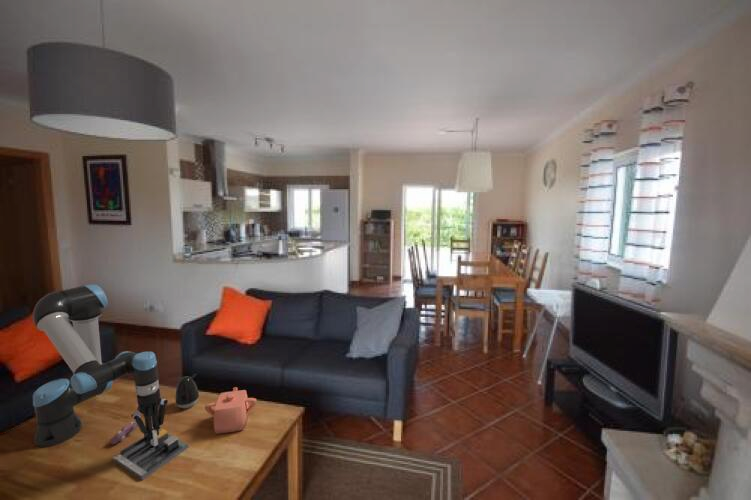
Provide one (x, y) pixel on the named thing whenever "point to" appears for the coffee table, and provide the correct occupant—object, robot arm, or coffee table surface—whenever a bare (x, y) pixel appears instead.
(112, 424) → the coffee table surface
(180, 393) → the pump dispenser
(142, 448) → the panel
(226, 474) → the coffee table surface
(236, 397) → the teapot
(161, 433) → the breaker
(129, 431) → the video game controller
